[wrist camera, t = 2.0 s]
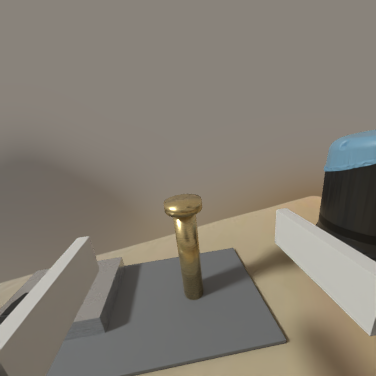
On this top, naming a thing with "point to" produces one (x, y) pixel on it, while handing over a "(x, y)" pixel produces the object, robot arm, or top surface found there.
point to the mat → (173, 321)
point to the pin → (187, 240)
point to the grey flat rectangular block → (88, 299)
